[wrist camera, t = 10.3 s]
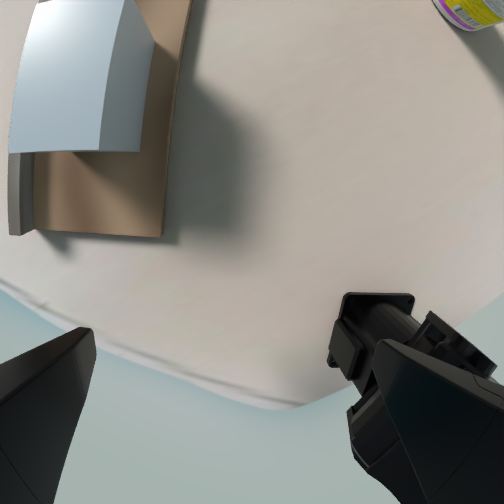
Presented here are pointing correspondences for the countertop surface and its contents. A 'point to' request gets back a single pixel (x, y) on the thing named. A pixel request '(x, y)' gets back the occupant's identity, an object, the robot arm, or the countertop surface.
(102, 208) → the shelf board
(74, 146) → the carton
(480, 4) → the supplement bottle
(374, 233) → the countertop surface
